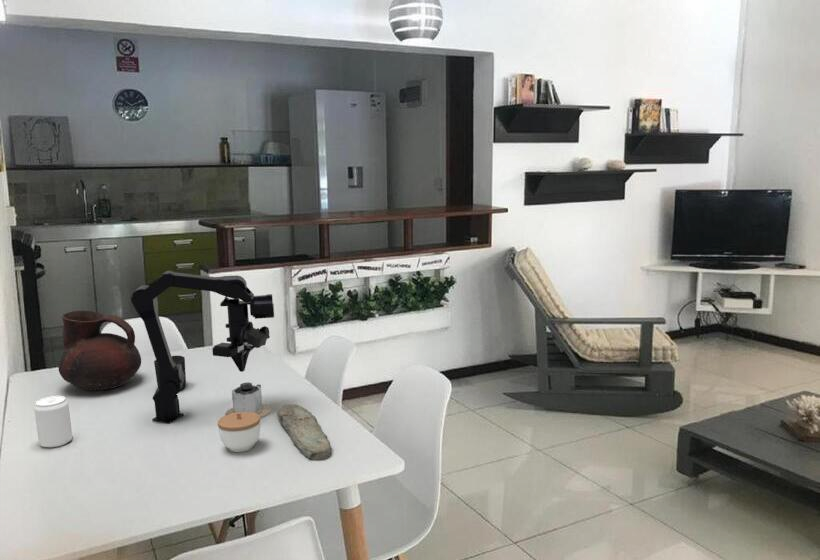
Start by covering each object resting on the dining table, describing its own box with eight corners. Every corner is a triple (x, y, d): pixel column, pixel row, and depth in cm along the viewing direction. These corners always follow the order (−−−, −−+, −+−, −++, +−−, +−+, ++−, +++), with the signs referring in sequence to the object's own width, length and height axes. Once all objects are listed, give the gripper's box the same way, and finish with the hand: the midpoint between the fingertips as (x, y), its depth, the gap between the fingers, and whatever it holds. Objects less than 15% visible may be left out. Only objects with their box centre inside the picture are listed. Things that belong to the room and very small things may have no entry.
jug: (117, 400, 215) (108, 323, 210) (44, 397, 219) (34, 322, 214) (157, 374, 239) (150, 304, 235) (92, 372, 243) (83, 304, 239)
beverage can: (35, 450, 180) (29, 407, 177) (43, 438, 187) (37, 397, 185) (69, 446, 182) (64, 403, 179) (75, 434, 189) (70, 393, 187)
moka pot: (254, 423, 194) (252, 399, 192) (216, 418, 198) (214, 395, 197) (279, 406, 206) (277, 384, 204) (242, 402, 210) (240, 380, 209)
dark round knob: (250, 406, 198) (248, 388, 197) (234, 404, 200) (232, 386, 199) (260, 400, 203) (259, 382, 202) (245, 398, 205) (243, 380, 204)
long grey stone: (301, 470, 168) (340, 464, 172) (301, 450, 167) (340, 444, 171) (270, 414, 199) (303, 410, 203) (270, 397, 198) (303, 393, 202)
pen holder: (162, 384, 228) (159, 356, 227) (190, 383, 229) (188, 355, 227) (153, 394, 219) (150, 364, 217) (182, 393, 220) (179, 363, 218)
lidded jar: (218, 442, 182) (215, 409, 180) (258, 435, 185) (256, 403, 184) (222, 459, 172) (219, 424, 170) (265, 451, 176) (262, 417, 174)
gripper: (242, 329, 186) (246, 384, 189) (279, 314, 203) (282, 364, 206) (209, 326, 190) (213, 380, 193) (248, 311, 207) (251, 361, 210)
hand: (242, 371), depth 201 cm, fingers closed
